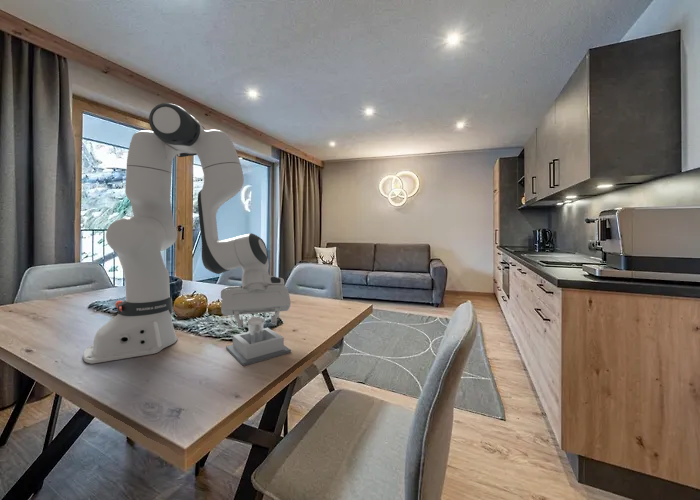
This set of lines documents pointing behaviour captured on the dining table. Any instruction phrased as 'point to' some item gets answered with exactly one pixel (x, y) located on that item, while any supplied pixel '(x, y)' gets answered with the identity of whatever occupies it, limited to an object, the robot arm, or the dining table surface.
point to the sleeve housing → (257, 347)
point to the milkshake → (255, 329)
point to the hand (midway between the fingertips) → (257, 324)
